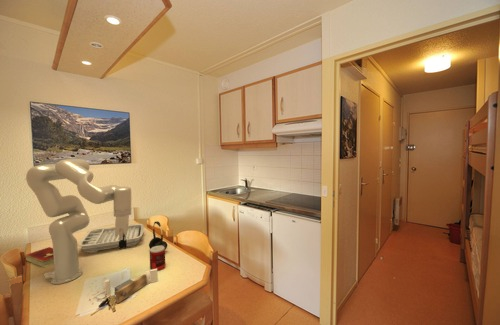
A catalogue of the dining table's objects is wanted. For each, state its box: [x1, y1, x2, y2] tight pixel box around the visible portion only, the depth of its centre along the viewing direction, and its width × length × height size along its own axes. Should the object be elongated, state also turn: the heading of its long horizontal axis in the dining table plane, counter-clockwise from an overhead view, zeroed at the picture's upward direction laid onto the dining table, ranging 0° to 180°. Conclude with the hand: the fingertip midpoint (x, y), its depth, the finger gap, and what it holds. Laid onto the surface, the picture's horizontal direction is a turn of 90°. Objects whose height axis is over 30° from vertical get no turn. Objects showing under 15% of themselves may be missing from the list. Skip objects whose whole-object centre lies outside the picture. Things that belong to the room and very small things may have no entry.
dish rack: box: [77, 223, 145, 254], centre depth 150 cm, size 32×37×8 cm
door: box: [115, 273, 147, 304], centre depth 96 cm, size 14×2×5 cm, turn 155°
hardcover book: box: [24, 246, 54, 268], centre depth 129 cm, size 12×21×4 cm, turn 66°
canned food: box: [149, 246, 166, 272], centre depth 117 cm, size 8×8×11 cm
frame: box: [104, 269, 159, 296], centre depth 101 cm, size 22×2×6 cm, turn 116°
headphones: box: [148, 221, 168, 251], centre depth 136 cm, size 9×15×20 cm, turn 44°
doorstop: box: [113, 278, 134, 296], centre depth 97 cm, size 7×5×4 cm
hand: (122, 247), depth 105 cm, fingers closed
